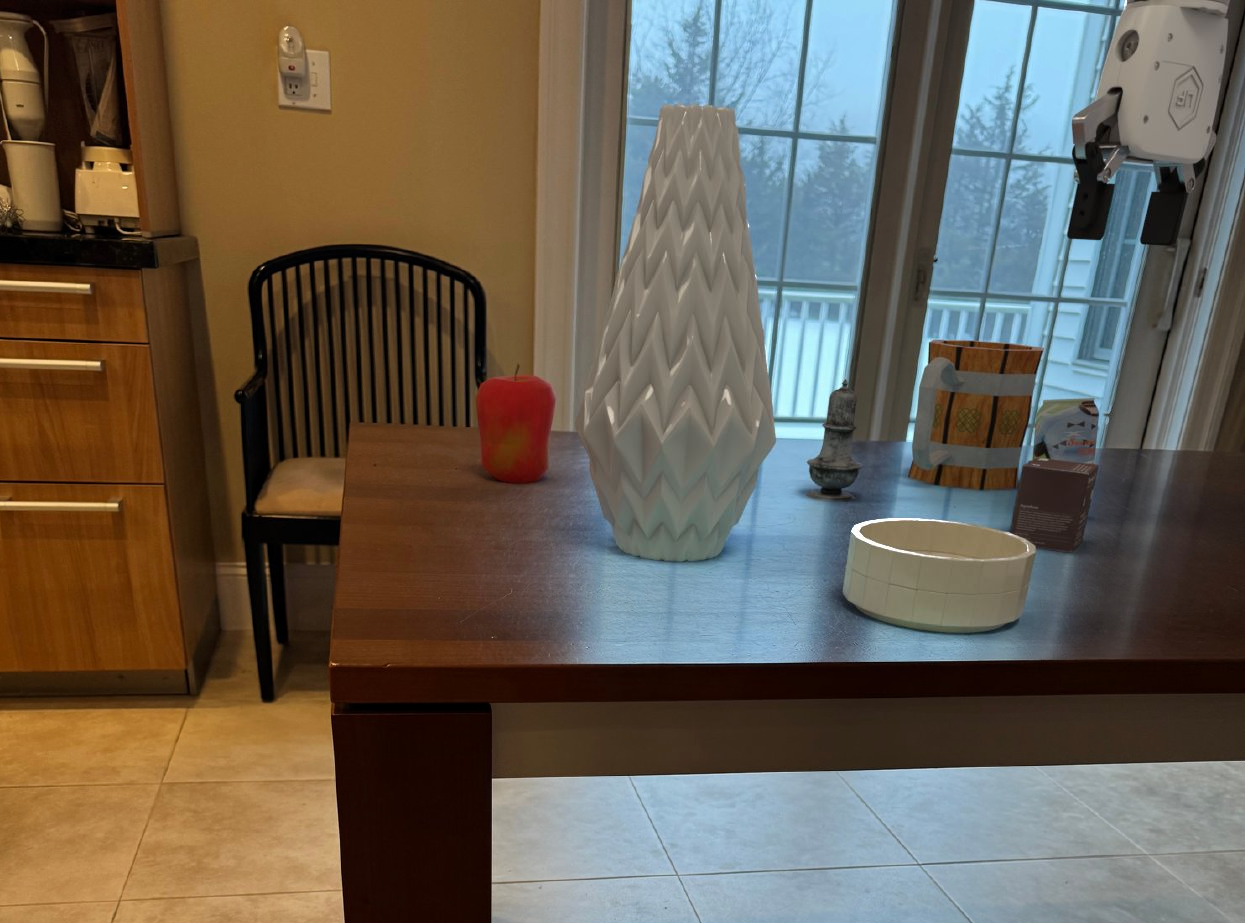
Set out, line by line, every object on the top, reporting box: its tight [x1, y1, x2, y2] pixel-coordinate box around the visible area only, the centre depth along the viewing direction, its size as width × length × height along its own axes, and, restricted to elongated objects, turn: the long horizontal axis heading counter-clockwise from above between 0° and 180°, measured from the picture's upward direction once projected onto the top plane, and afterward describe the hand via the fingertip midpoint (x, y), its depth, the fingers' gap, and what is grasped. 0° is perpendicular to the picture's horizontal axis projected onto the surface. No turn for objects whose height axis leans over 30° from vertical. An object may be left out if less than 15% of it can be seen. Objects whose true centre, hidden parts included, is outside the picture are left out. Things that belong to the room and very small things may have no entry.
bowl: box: [842, 517, 1037, 634], centre depth 87 cm, size 13×13×6 cm
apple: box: [474, 363, 557, 484], centre depth 124 cm, size 9×8×12 cm
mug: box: [907, 339, 1045, 491], centre depth 135 cm, size 20×14×15 cm
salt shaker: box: [805, 378, 863, 502], centre depth 124 cm, size 6×6×12 cm
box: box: [1008, 458, 1100, 554], centre depth 110 cm, size 6×6×7 cm
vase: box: [574, 103, 777, 563], centre depth 94 cm, size 17×17×33 cm
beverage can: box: [1031, 397, 1100, 464], centre depth 120 cm, size 6×7×12 cm
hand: (1121, 241), depth 98 cm, fingers open, 9 cm apart
